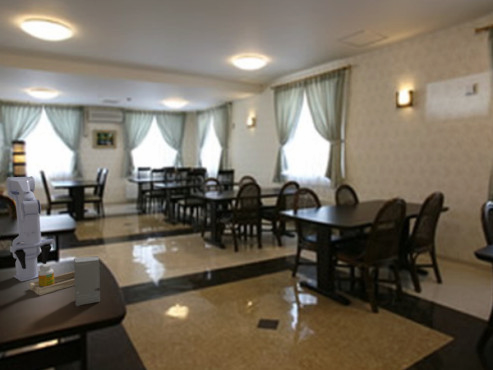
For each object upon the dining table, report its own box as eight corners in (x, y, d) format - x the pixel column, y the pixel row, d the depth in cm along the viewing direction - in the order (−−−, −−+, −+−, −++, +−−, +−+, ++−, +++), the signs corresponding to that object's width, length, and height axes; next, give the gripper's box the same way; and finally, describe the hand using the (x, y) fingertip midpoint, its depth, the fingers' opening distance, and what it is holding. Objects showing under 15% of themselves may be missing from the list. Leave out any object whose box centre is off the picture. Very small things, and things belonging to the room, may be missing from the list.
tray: (29, 289, 136) (29, 283, 135) (79, 275, 151) (78, 269, 151) (39, 295, 129) (39, 289, 129) (90, 280, 144) (89, 274, 144)
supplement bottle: (47, 291, 133) (46, 267, 132) (35, 290, 134) (34, 266, 133) (57, 286, 138) (56, 263, 137) (46, 285, 139) (44, 262, 138)
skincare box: (75, 306, 120) (73, 263, 118) (75, 299, 126) (72, 257, 124) (101, 301, 124) (99, 259, 122) (100, 294, 130) (97, 254, 128)
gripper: (13, 236, 123) (16, 273, 124) (56, 229, 134) (58, 263, 135) (7, 234, 127) (9, 269, 128) (48, 227, 138) (51, 259, 139)
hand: (34, 265), depth 132 cm, fingers open, 6 cm apart
